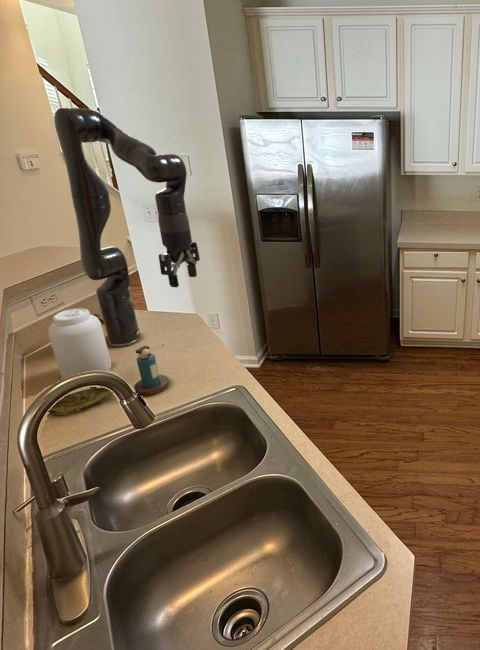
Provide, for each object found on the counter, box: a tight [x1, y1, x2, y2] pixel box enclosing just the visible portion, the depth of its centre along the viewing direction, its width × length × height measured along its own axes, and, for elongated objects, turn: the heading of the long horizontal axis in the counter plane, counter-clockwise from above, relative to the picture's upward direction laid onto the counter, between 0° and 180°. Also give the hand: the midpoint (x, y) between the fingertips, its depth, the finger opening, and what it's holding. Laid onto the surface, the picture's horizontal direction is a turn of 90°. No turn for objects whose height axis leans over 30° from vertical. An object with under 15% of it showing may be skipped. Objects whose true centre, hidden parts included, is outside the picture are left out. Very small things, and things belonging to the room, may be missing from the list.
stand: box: [133, 374, 170, 397], centre depth 124 cm, size 9×9×2 cm
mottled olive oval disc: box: [47, 386, 114, 416], centre depth 117 cm, size 9×5×15 cm
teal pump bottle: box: [135, 345, 160, 387], centre depth 122 cm, size 5×4×11 cm
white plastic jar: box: [47, 307, 112, 379], centre depth 127 cm, size 12×12×20 cm
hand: (184, 281), depth 127 cm, fingers open, 8 cm apart
